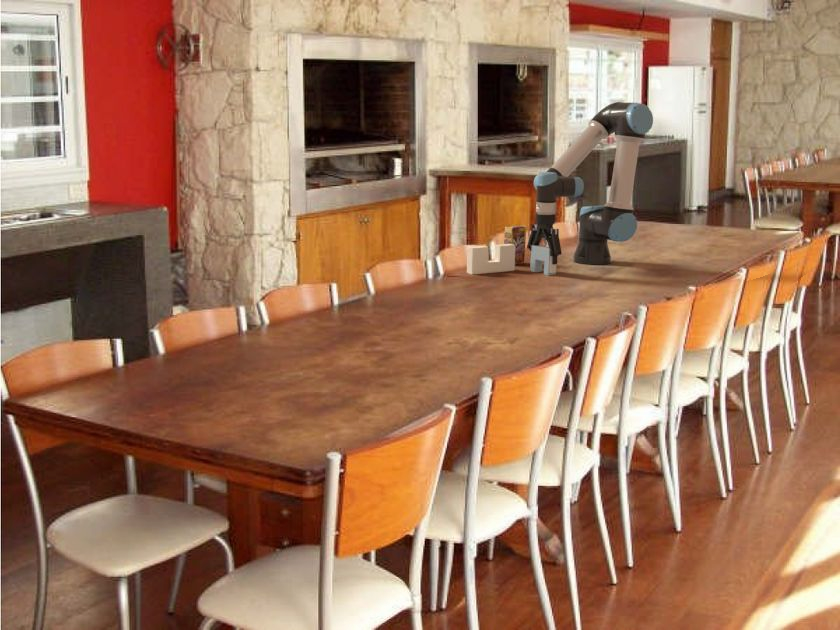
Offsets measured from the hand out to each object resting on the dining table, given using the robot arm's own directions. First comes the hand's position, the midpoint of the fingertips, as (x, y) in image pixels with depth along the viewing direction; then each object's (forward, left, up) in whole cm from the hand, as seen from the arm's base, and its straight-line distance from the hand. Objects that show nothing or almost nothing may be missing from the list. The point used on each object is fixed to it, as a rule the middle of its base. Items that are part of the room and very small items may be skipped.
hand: (543, 270), depth 419 cm
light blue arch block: (0, 0, -1) cm, 1 cm away
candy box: (+9, -20, -1) cm, 22 cm away
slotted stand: (+20, -1, -1) cm, 20 cm away
